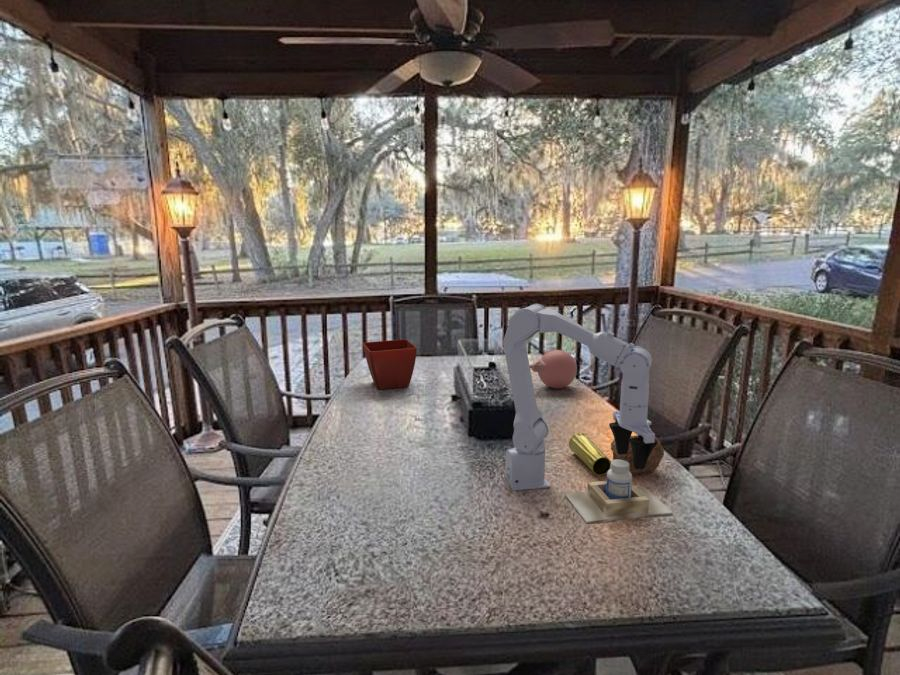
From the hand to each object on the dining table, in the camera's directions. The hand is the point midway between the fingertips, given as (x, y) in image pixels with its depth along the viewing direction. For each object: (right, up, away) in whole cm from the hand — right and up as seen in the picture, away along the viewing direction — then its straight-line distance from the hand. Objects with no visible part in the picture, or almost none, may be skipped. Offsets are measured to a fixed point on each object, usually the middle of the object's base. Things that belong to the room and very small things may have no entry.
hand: (630, 460), depth 114 cm
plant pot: (-65, +8, +97) cm, 117 cm away
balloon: (0, +7, +89) cm, 90 cm away
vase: (-4, -2, +29) cm, 29 cm away
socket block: (-3, -10, +2) cm, 11 cm away
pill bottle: (-2, -10, +2) cm, 10 cm away
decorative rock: (+8, -7, +18) cm, 21 cm away
